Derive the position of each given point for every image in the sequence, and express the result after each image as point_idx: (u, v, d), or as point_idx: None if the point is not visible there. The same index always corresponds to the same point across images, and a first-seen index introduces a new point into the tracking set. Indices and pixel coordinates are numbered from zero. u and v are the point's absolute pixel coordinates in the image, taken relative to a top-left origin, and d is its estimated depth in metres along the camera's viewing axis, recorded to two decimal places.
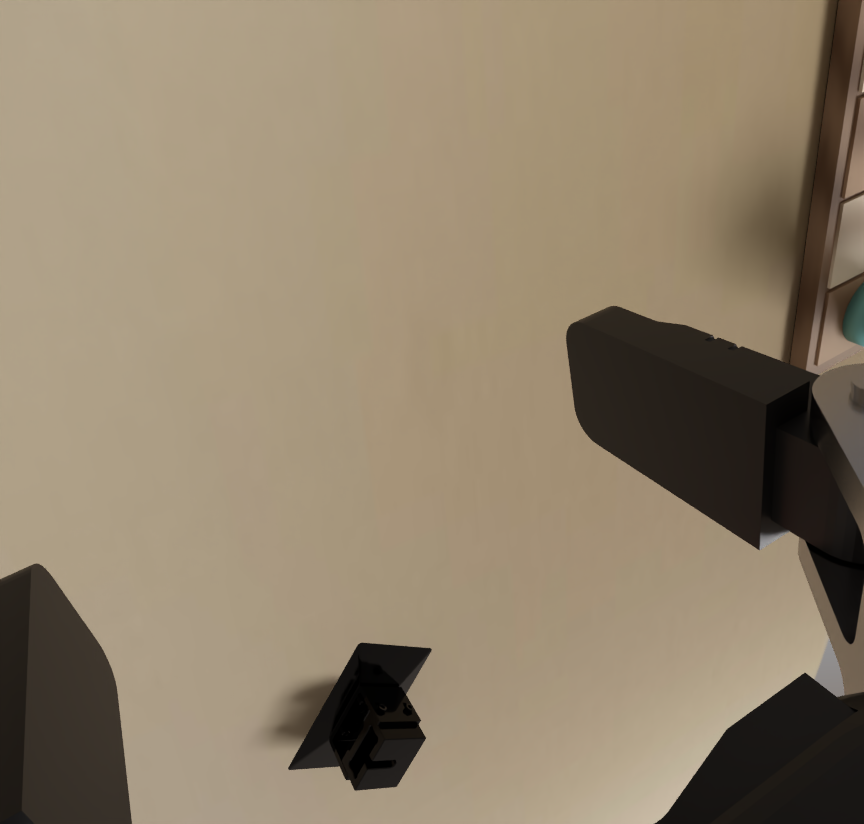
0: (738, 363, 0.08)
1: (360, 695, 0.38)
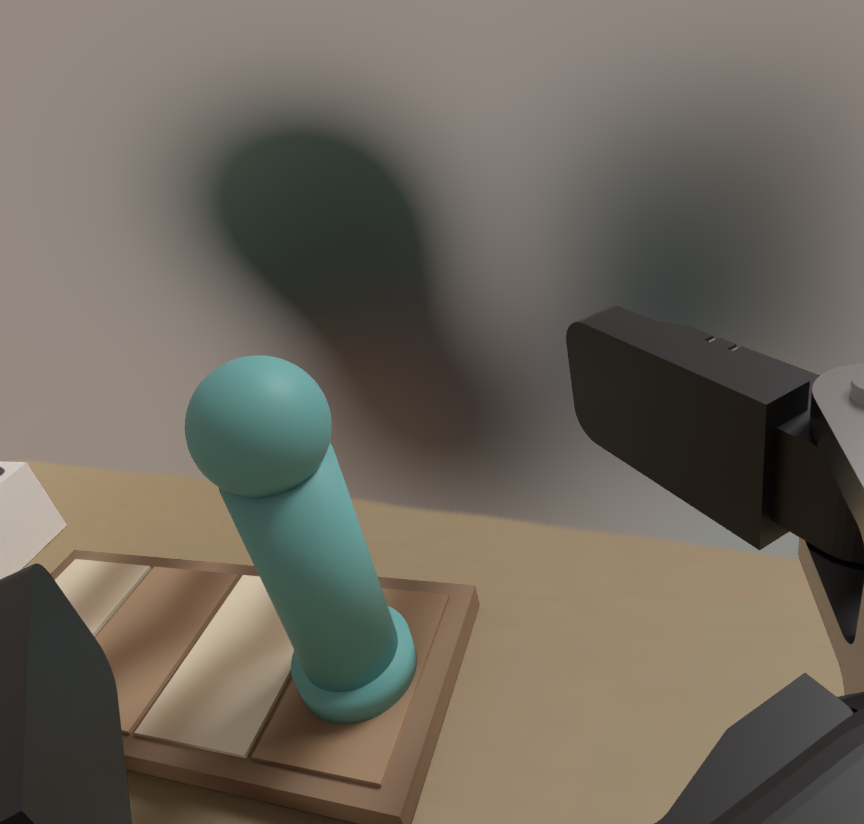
0: (738, 363, 0.08)
1: None
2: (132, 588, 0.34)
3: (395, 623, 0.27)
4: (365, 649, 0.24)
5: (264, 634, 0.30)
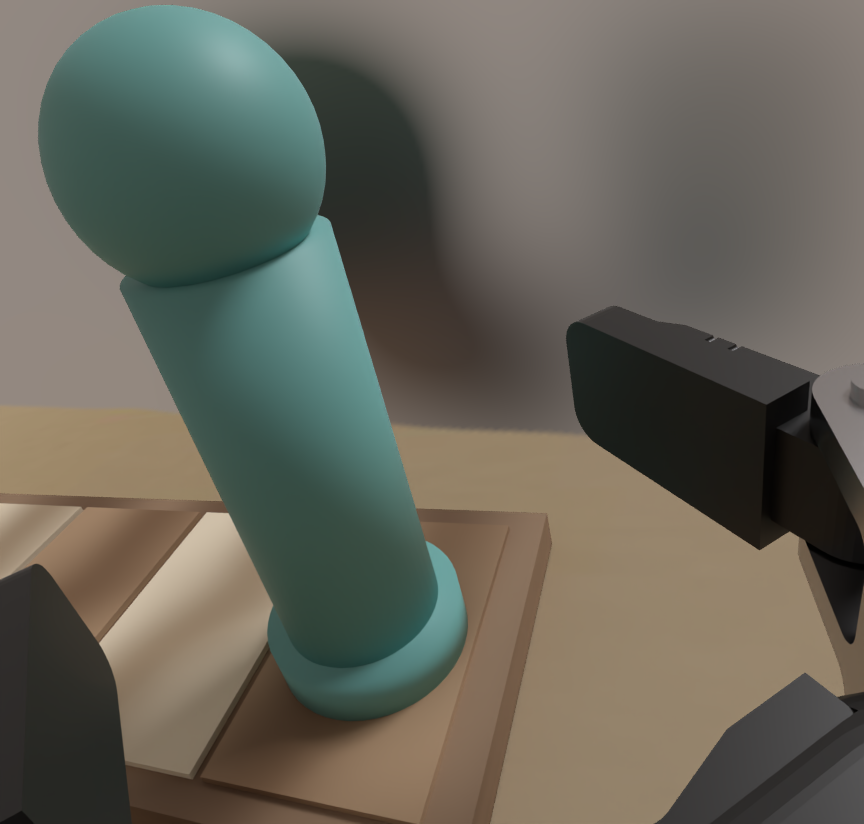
0: (738, 363, 0.08)
1: None
2: (53, 535, 0.25)
3: (432, 562, 0.17)
4: (389, 593, 0.14)
5: (232, 589, 0.20)
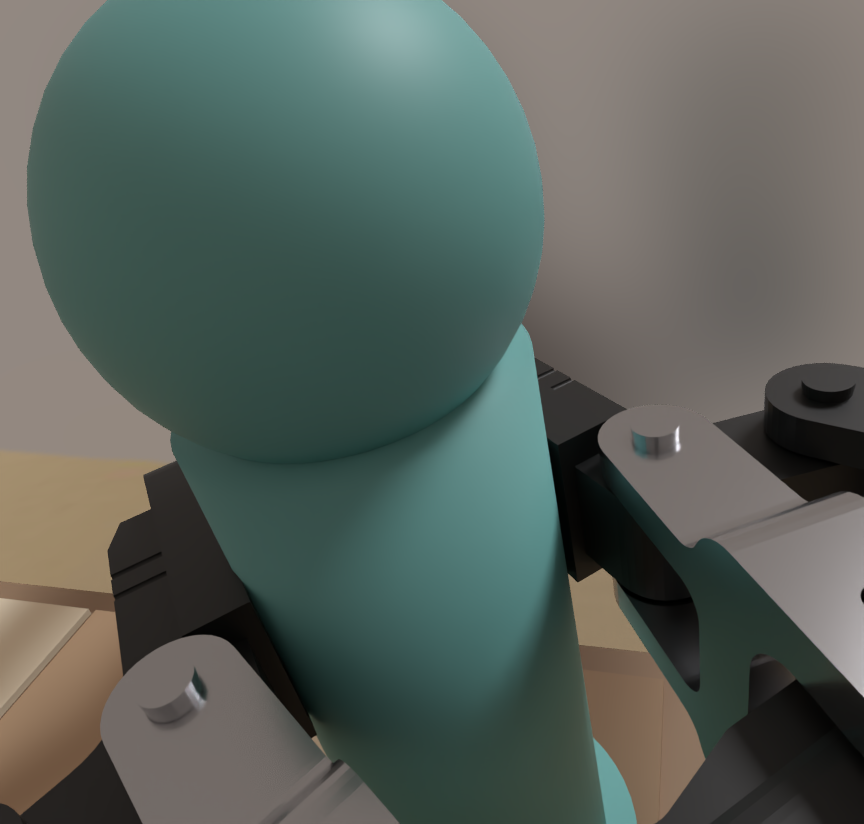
0: (549, 401, 0.09)
1: None
2: (53, 650, 0.20)
3: None
4: None
5: None
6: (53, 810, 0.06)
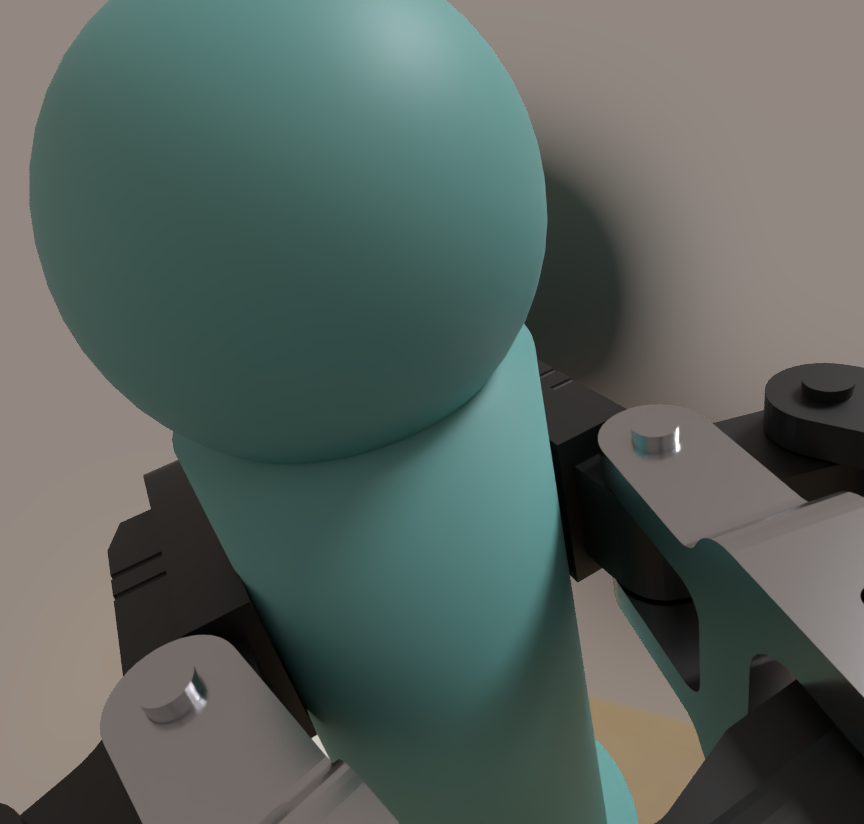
0: (549, 401, 0.08)
1: None
2: None
3: None
4: None
5: None
6: (52, 810, 0.06)
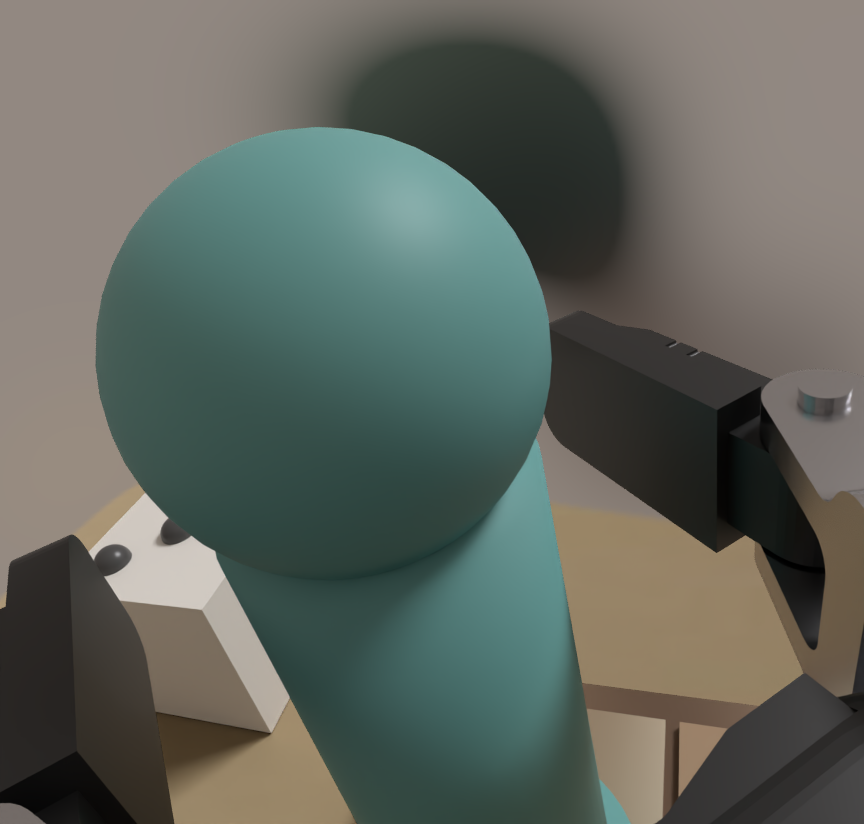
0: (694, 368, 0.08)
1: None
2: (663, 785, 0.14)
3: None
4: None
5: None
6: None
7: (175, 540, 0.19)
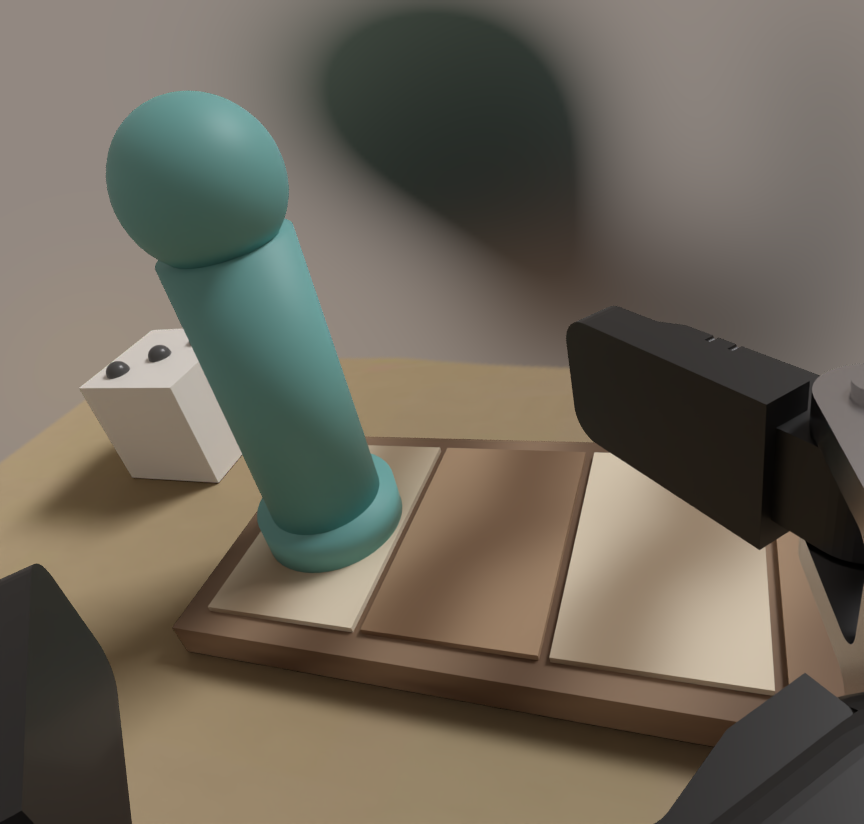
0: (738, 363, 0.08)
1: None
2: (428, 473, 0.25)
3: (377, 469, 0.24)
4: (337, 481, 0.21)
5: (684, 523, 0.20)
6: None
7: (157, 359, 0.30)
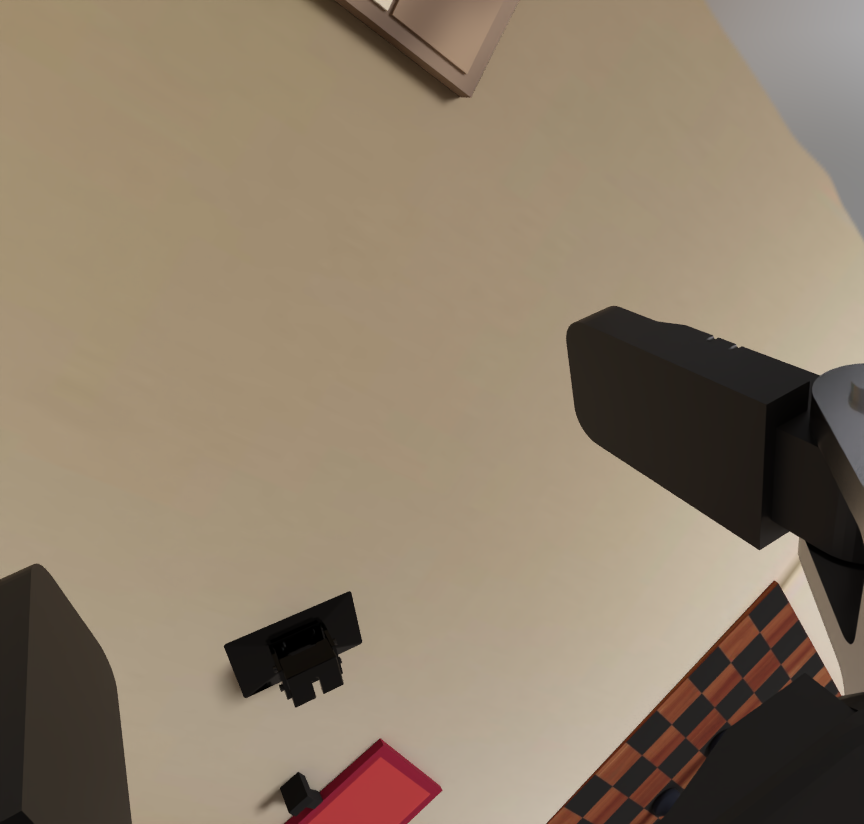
0: (738, 363, 0.08)
1: None
2: None
3: None
4: None
5: None
6: None
7: None
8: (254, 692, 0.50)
